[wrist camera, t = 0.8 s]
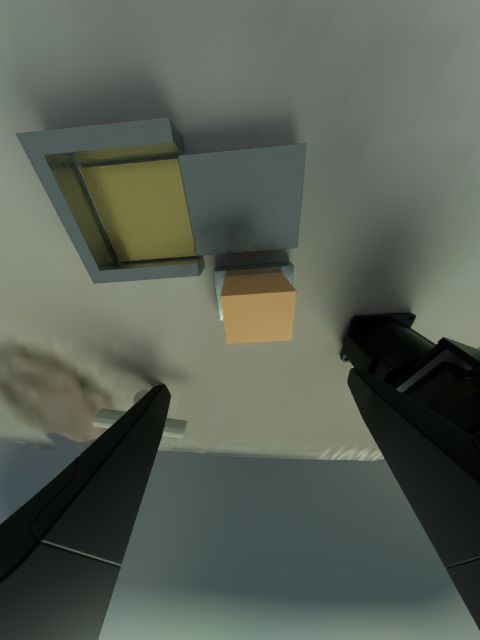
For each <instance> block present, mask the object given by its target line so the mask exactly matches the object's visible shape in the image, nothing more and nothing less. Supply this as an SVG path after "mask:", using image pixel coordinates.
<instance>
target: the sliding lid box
mask: <svg viewBox="0 0 480 640" xmlns="http://www.w3.org/2000/svg"><path fill="white" fill-rule="evenodd" d="M16 135H17V137H18V139H19V141H20V143H21V145H22V146H23V148H24V150H25V152H26V154H27V156H28V158H29V160H30V162H31V164H32V166H33V168H34V170H35V171H36V173H37V175H38V177H39V179H40V181H41V183H42V185H43V187H44V189H45V191H46V193H47V194H48V196H49V198H50V200H51V202H52V204H53V206H54V208H55V210H56V212H57V214H58V216H59V218H60V219H61V221H62V223H63V225H64V227H65V229H66V231H67V233H68V235H69V237H70V239H71V241H72V243H73V244H74V246H75V248H76V250H77V252H78V254H79V256H80V258H81V260H82V262H83V264H84V266H85V267H86V269H87V271H88V273H89V275H90V277H91V279H92V281H93V283H94V284H95V283H109V282H122V281H136V280H149V279H163V278H177V277H190V276H200V274H201V273H202V271H203V270H204V268H205V267H204V261H203V257H199V258H186V259H173V260H160V261H147V262H134V263H122V264H118V262H117V260H116V257H115V255H114V253H113V250H112V248H111V245H110V243H109V241H108V238H107V236H106V234H105V231H104V229H103V226H102V224H101V222H100V219H99V217H98V215H97V212H96V210H95V207H94V205H93V203H92V200H91V198H90V196H89V193H88V191H87V188H86V186H85V184H84V181H83V179H82V177H81V174H80V172H79V169H78V167H77V166H79V165H89V164H99V163H109V162H119V161H129V160H140V159H150V158H160V157H170V156H178V158H179V159H169V160H159V161H148V162H138V163H128V164H118V165H108V166H98V167H87V168H80V169H81V171H82V174H83V176H84V179H85V181H86V183H87V186H88V188H89V191H90V193H91V195H92V198H93V200H94V203H95V205H96V207H97V210H98V212H99V215H100V217H101V219H102V222H103V224H104V227H105V229H106V231H107V234H108V236H109V239H110V241H111V243H112V246H113V248H114V251H115V253H116V255H117V258H118V260H119V262H123V261H136V260H149V259H161V258H174V257H187V256H199V255H211V254H224V253H237V252H250V251H263V250H276V249H289V248H297V245H298V234H299V223H300V212H301V200H302V189H303V178H304V167H305V156H306V144H307V143H302V144H292V145H282V146H272V147H262V148H251V149H241V150H231V151H221V152H211V153H201V154H191V155H185V153H184V147H183V141H182V136H181V134H180V133H179V131H178V130H177V128H176V127H175V126H174V124H173V123H172V121H171V120H170V118H169V117H165V118H156V119H146V120H137V121H128V122H118V123H109V124H100V125H90V126H81V127H72V128H63V129H53V130H44V131H35V132H25V133H16ZM180 155H181V156H180ZM179 163H180V164H179ZM180 168H181V169H180ZM183 184H184V185H183ZM184 189H185V190H184ZM187 205H188V206H187ZM188 210H189V211H188ZM191 226H192V227H191ZM195 247H196V248H195Z"/></svg>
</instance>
